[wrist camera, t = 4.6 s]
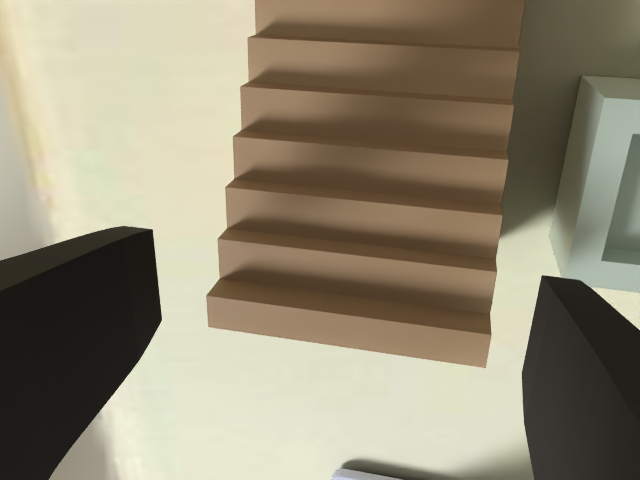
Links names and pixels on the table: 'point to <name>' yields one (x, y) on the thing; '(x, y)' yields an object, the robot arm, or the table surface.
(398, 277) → the staircase
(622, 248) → the hollow square container
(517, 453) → the table surface
